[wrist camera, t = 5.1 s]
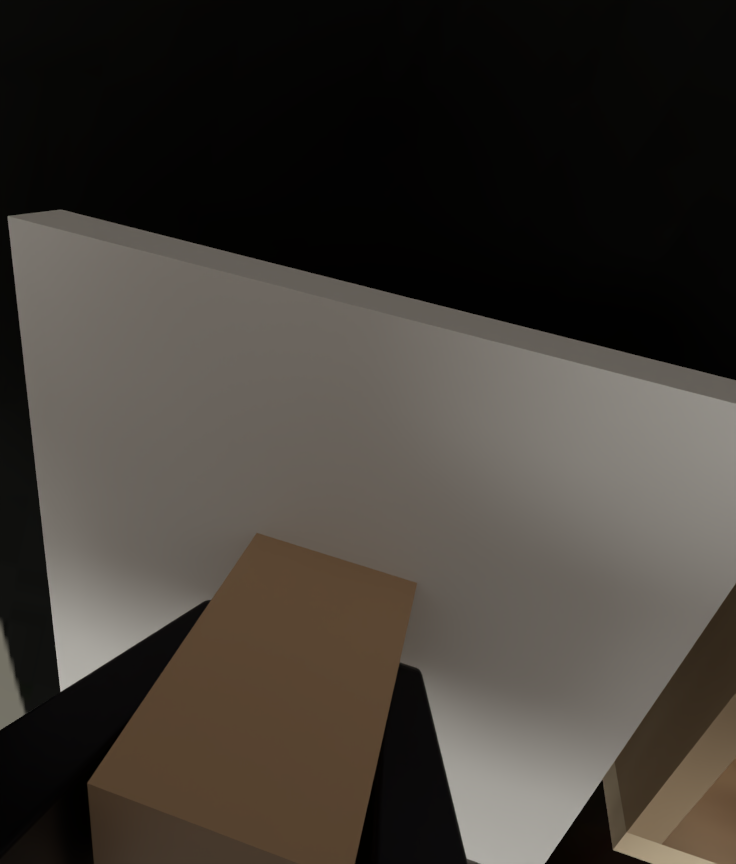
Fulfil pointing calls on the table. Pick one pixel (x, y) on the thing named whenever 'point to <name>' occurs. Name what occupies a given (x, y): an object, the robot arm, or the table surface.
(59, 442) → the lid
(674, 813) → the box
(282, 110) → the table surface
